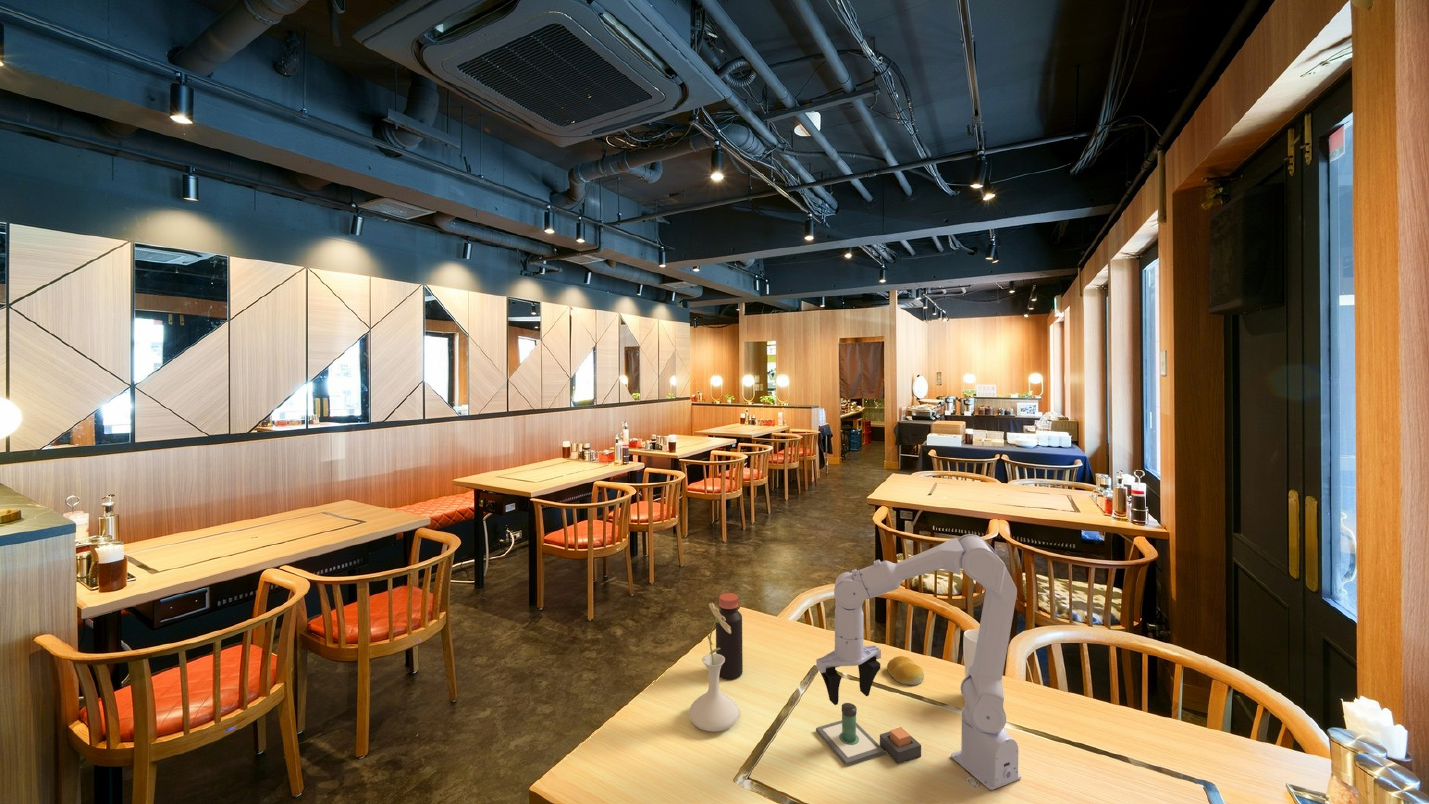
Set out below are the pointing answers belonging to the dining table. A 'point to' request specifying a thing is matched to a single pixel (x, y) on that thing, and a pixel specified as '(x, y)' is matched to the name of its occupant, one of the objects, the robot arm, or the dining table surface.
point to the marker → (849, 722)
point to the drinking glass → (969, 648)
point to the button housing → (900, 749)
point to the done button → (900, 737)
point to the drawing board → (849, 744)
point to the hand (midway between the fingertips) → (849, 697)
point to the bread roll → (905, 670)
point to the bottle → (730, 637)
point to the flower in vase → (714, 692)
